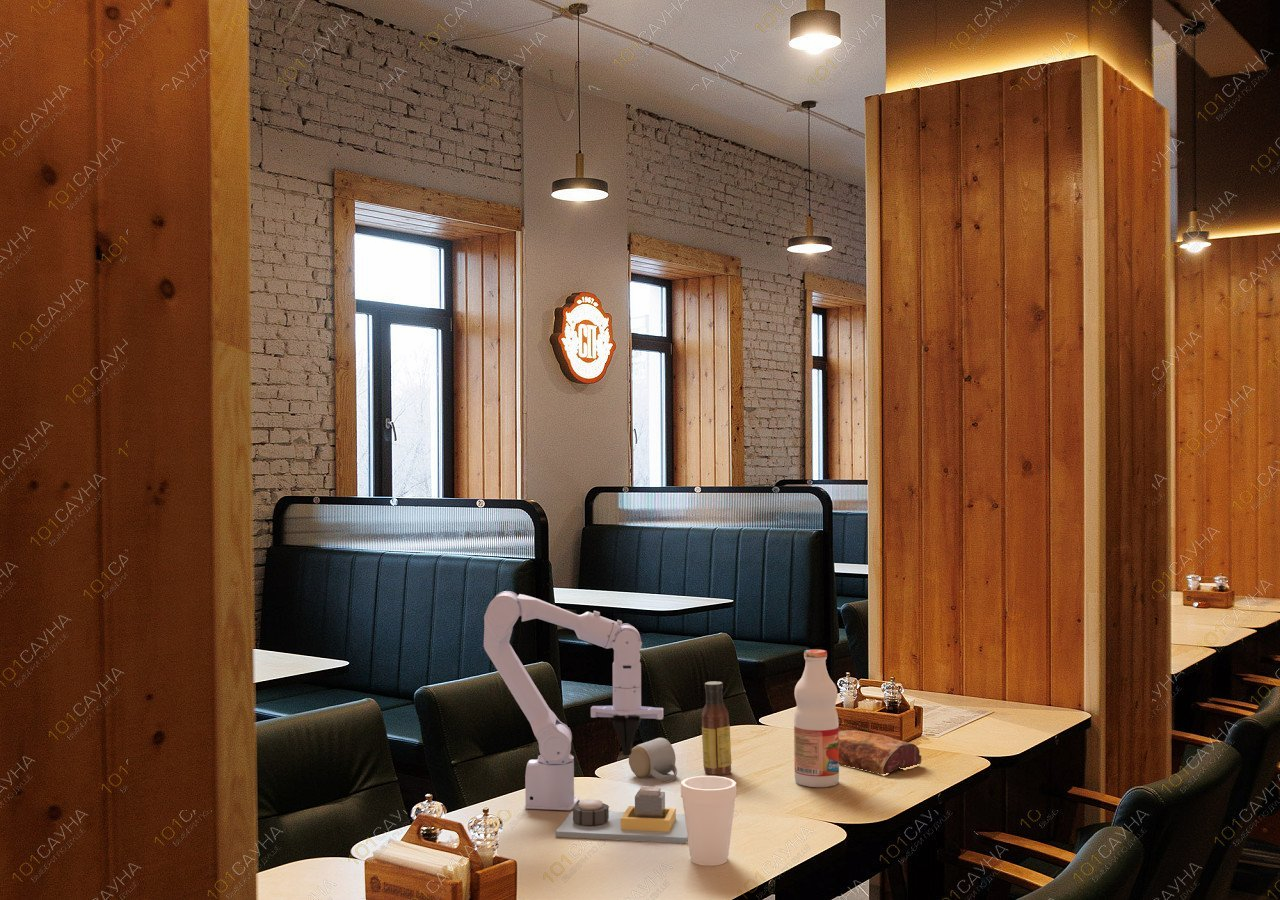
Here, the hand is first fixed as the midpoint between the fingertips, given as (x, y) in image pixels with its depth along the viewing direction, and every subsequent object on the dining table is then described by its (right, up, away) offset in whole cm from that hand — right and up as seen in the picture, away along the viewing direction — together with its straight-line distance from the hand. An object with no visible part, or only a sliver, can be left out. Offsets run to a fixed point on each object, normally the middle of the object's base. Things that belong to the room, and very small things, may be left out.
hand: (627, 754), depth 231 cm
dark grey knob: (-7, -8, -15) cm, 19 cm away
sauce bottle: (+19, -11, +24) cm, 32 cm away
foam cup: (+14, -9, -34) cm, 38 cm away
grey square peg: (+4, -8, -17) cm, 20 cm away
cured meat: (+54, -11, +35) cm, 66 cm away
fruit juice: (+40, -10, +15) cm, 44 cm away
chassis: (0, -10, -17) cm, 19 cm away
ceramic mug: (+6, -11, +21) cm, 24 cm away
